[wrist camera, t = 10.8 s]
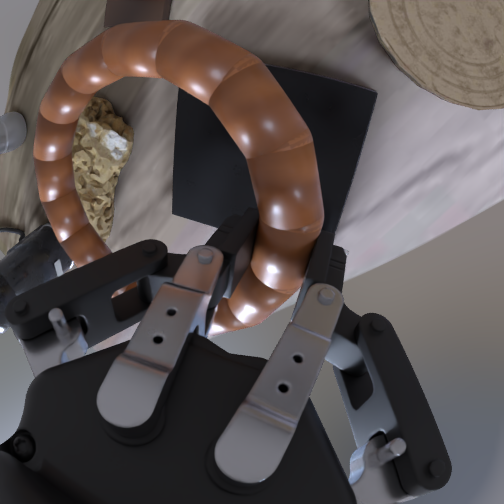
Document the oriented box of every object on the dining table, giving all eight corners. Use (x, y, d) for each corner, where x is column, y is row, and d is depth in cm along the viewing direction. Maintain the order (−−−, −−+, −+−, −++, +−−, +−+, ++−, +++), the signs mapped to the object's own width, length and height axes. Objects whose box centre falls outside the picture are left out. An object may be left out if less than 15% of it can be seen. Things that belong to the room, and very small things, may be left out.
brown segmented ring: (75, 261, 23) (54, 279, 21) (55, 37, 12) (21, 42, 10) (279, 348, 19) (267, 380, 17) (369, 49, 9) (372, 43, 7)
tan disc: (328, 1, 19) (325, -7, 16) (441, -77, 9) (447, -89, 7) (451, 138, 22) (460, 146, 19) (552, 58, 12) (568, 60, 10)
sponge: (101, 84, 30) (42, 195, 39) (66, 91, 24) (13, 220, 32) (178, 144, 35) (104, 246, 43) (158, 164, 29) (81, 277, 37)
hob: (182, 218, 36) (171, 229, 34) (194, 55, 25) (180, 55, 23) (338, 267, 33) (336, 282, 31) (396, 98, 22) (400, 101, 20)
